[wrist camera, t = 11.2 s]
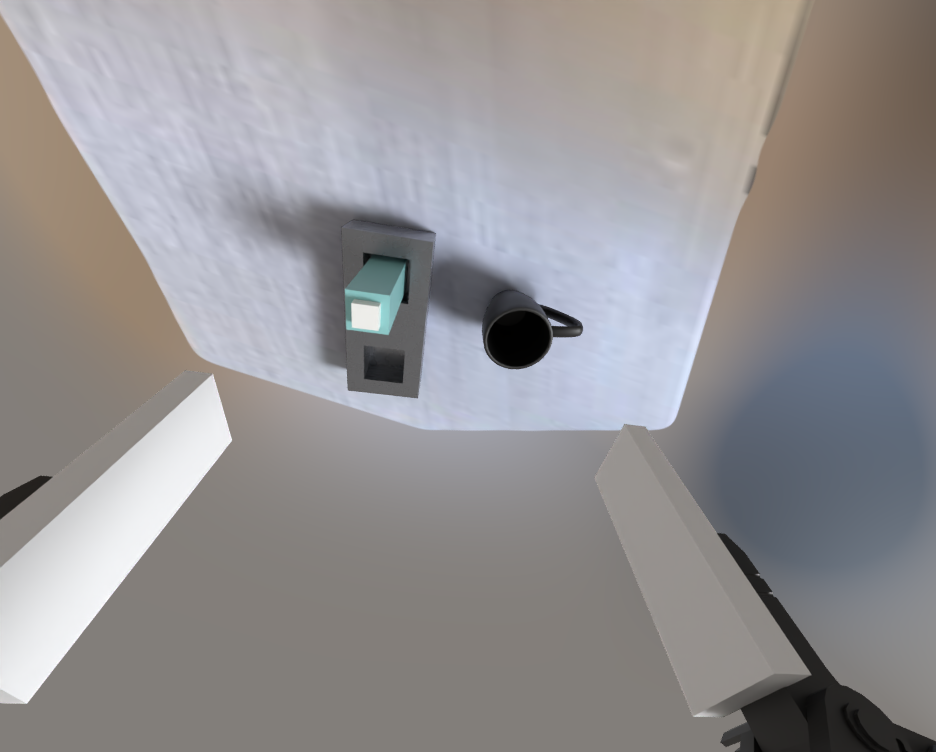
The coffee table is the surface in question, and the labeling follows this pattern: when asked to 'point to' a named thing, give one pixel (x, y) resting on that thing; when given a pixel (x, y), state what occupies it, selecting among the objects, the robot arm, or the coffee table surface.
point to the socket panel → (401, 352)
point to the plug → (376, 294)
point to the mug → (522, 329)
